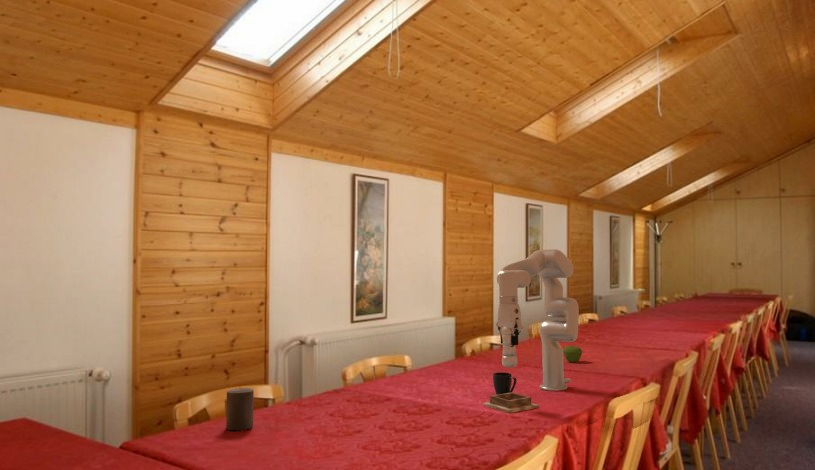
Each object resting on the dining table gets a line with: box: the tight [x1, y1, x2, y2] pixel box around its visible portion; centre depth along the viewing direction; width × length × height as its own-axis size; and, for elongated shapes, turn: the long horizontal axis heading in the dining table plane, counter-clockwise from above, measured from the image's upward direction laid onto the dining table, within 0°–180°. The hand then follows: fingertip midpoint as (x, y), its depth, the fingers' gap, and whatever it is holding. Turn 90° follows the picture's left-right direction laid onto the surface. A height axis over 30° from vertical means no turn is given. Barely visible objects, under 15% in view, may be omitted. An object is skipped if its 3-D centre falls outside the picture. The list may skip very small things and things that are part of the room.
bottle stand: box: [482, 392, 540, 414], centre depth 255 cm, size 16×16×4 cm
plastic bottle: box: [501, 326, 518, 369], centre depth 256 cm, size 6×7×20 cm
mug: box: [492, 371, 518, 395], centre depth 275 cm, size 8×12×10 cm
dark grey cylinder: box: [225, 387, 255, 432], centre depth 228 cm, size 10×10×15 cm
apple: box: [562, 345, 583, 363], centre depth 362 cm, size 11×10×10 cm
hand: (509, 343), depth 256 cm, fingers closed on plastic bottle, 6 cm apart
